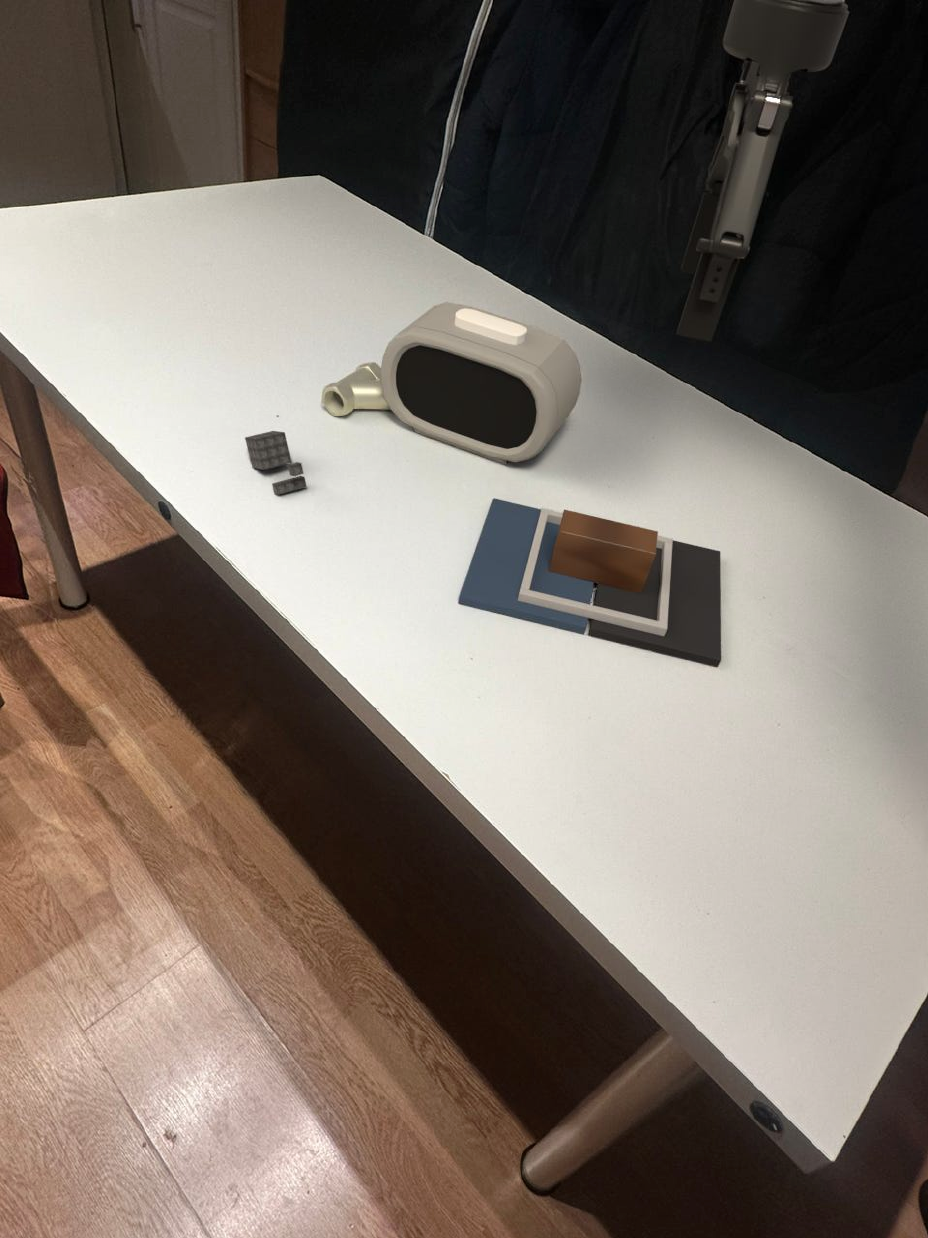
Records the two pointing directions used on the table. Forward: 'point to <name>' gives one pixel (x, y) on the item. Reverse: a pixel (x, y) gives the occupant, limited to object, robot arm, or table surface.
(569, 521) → the brown rectangular block
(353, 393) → the pipe fitting
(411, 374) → the alarm clock
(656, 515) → the table surface
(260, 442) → the building blocks
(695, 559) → the back pads
